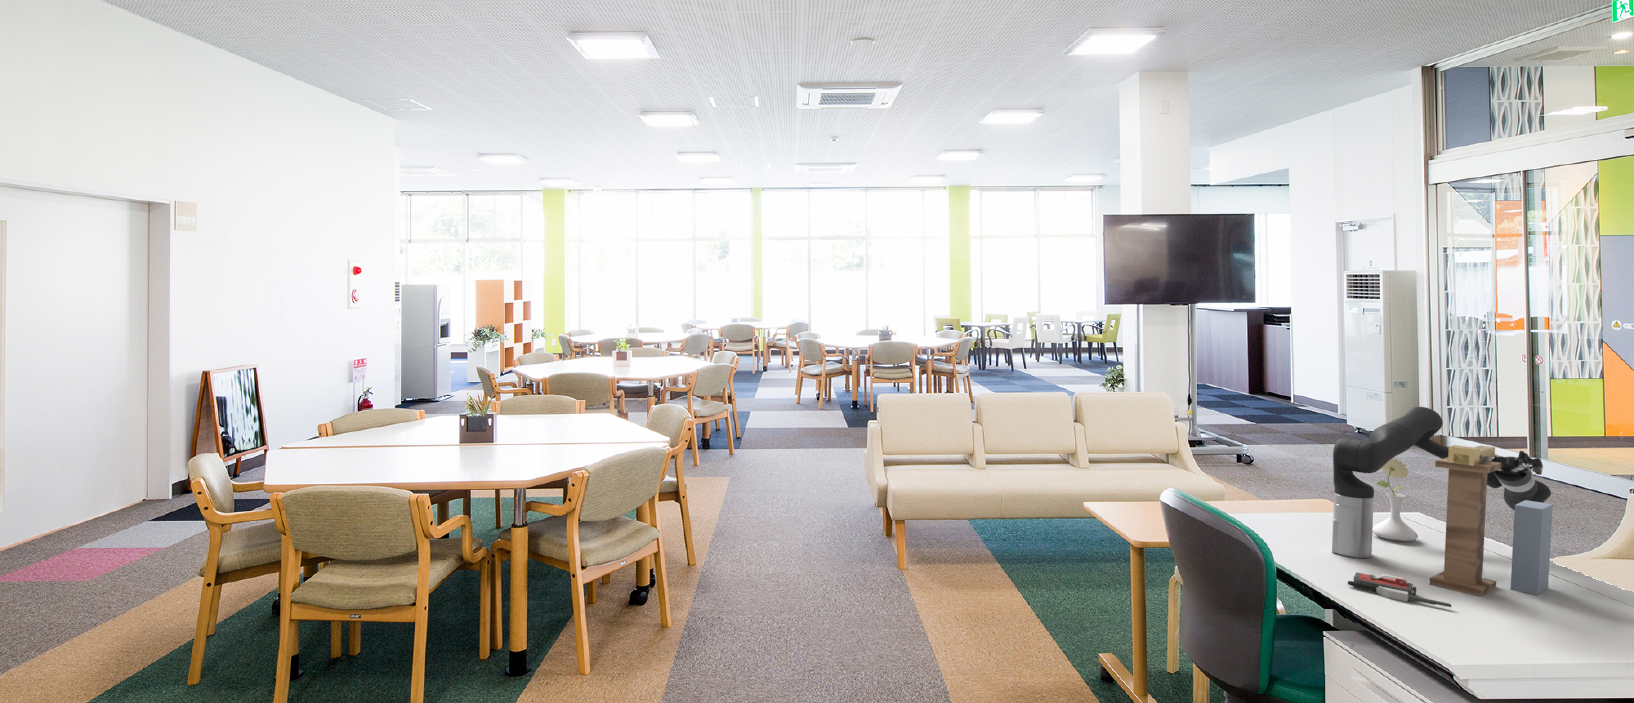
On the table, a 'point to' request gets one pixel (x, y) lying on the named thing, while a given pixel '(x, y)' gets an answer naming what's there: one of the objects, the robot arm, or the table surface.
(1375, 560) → the table surface
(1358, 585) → the red long two-tone device
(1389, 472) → the flower in vase
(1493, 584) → the brown wooden pedestal
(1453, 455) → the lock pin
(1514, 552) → the grey rectangular pillar
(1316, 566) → the table surface
